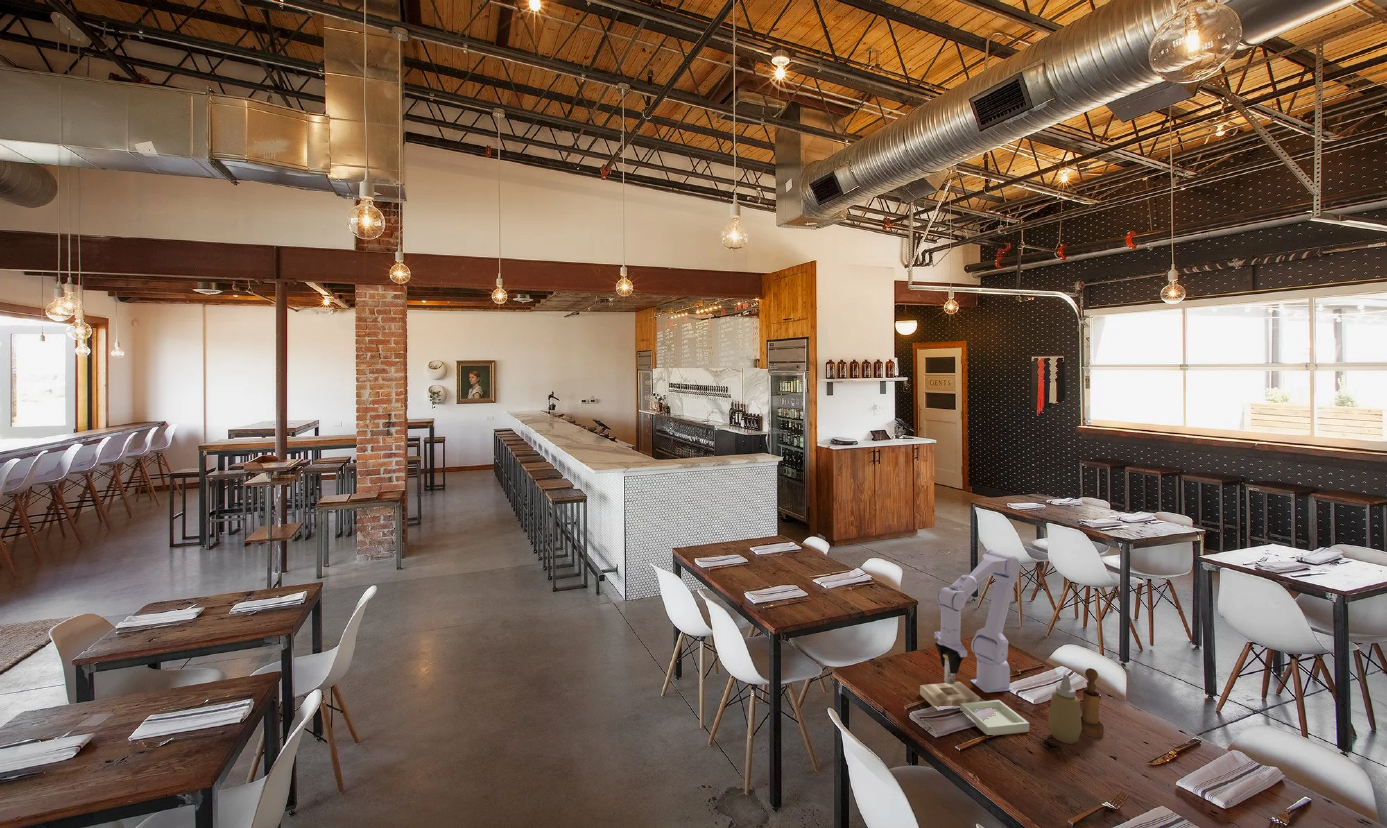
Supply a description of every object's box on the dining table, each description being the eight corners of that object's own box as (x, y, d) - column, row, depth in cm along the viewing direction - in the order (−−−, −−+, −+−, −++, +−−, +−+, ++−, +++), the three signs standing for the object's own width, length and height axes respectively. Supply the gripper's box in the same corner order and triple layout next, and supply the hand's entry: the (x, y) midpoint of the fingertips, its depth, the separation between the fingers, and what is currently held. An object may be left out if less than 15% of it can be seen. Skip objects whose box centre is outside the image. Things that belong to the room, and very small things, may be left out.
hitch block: (959, 690, 195) (960, 681, 195) (979, 706, 186) (979, 697, 185) (920, 694, 193) (920, 685, 193) (937, 710, 183) (937, 701, 183)
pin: (951, 678, 191) (952, 651, 191) (959, 684, 187) (959, 656, 187) (940, 679, 191) (940, 652, 190) (947, 685, 187) (947, 657, 186)
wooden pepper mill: (1108, 738, 169) (1109, 675, 168) (1082, 736, 170) (1084, 673, 169) (1097, 725, 175) (1099, 664, 174) (1072, 723, 176) (1074, 662, 176)
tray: (998, 707, 185) (999, 699, 185) (1029, 731, 172) (1029, 723, 172) (960, 711, 183) (960, 703, 183) (988, 735, 170) (988, 727, 170)
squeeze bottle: (1048, 741, 167) (1050, 678, 166) (1047, 727, 174) (1048, 666, 174) (1083, 749, 163) (1084, 684, 163) (1080, 734, 171) (1081, 672, 170)
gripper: (926, 619, 195) (925, 660, 195) (952, 637, 180) (951, 681, 181) (946, 617, 196) (945, 658, 196) (973, 635, 182) (973, 680, 182)
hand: (949, 669), depth 189 cm, fingers closed on pin, 4 cm apart
